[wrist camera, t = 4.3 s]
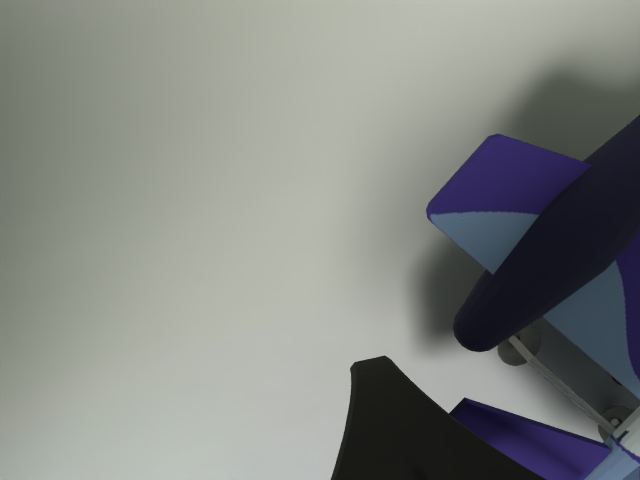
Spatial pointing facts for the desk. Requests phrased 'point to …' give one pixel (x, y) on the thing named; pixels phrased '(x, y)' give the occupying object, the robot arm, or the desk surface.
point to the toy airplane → (552, 287)
